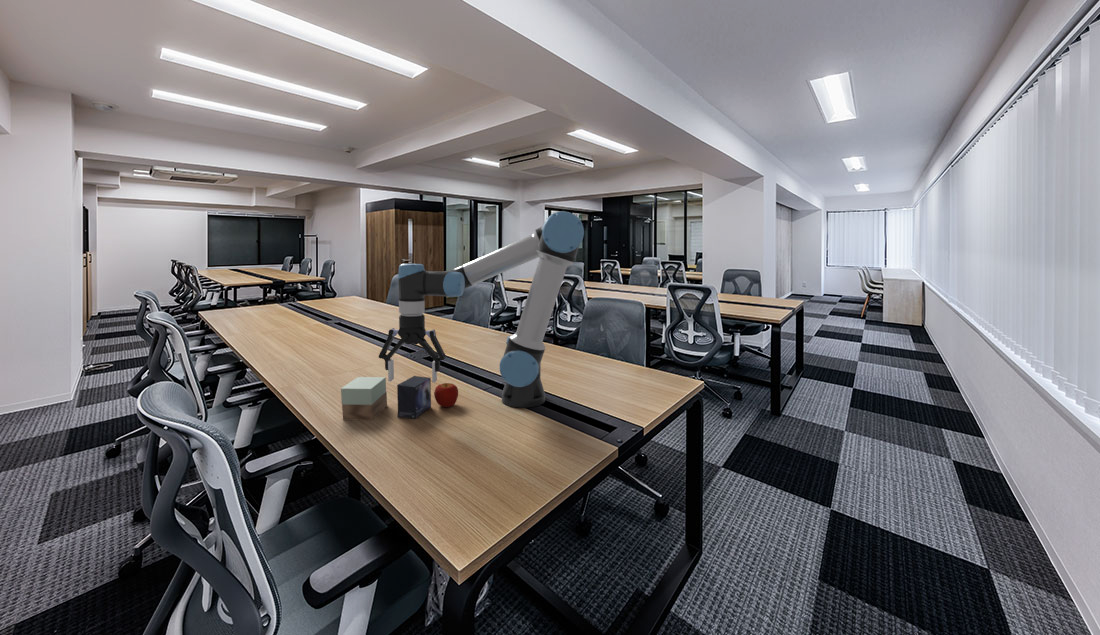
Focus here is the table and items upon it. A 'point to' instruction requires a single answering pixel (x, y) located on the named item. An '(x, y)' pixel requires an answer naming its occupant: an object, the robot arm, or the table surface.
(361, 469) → the table surface
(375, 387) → the tower top
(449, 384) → the apple
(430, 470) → the table surface
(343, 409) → the tower base
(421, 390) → the small box
